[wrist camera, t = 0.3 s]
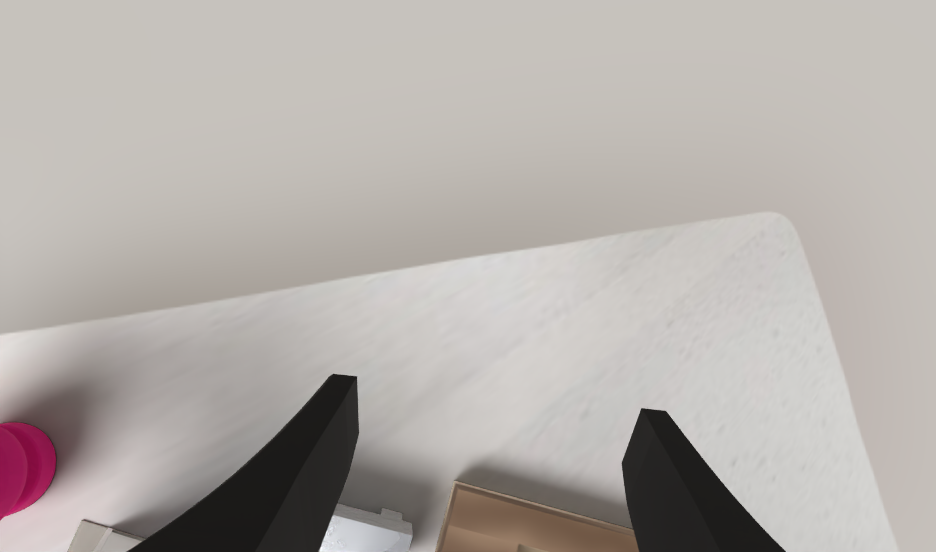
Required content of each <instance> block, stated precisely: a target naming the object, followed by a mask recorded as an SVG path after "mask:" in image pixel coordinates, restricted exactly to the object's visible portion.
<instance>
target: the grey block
mask: <svg viewBox="0 0 936 552" xmlns="http://www.w3.org/2000/svg"><path fill="white" fill-rule="evenodd" d="M412 537H413V533H412V523H410V522H406V521H402V513H400V512H396V511H392V510H389V509H385V508H382V510H381V513H380V514H376V513H372V512H368V511H364V510H361V509H357V508H353V507H349V506H346V505H342V504H338V503H337V505H336V508H335V511H334V513H333V516H332V519H331V521H330V524H329V526H328V529H327V532H326V534H325V537H324V540H323V542H322V545H321V548H320V550H319V552H408V551H409V548H410V544H411V541H412Z"/></svg>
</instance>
